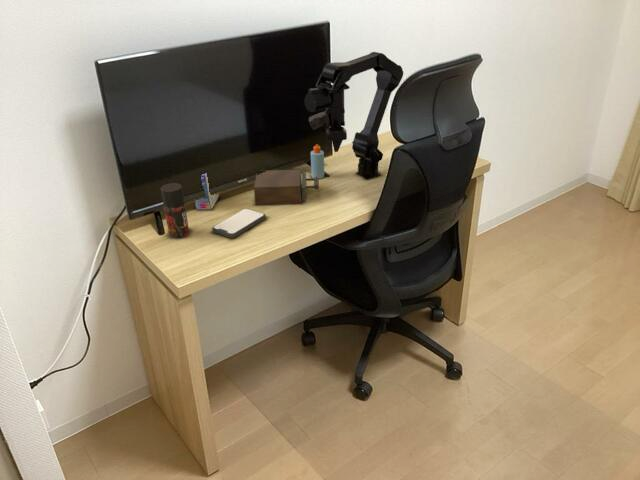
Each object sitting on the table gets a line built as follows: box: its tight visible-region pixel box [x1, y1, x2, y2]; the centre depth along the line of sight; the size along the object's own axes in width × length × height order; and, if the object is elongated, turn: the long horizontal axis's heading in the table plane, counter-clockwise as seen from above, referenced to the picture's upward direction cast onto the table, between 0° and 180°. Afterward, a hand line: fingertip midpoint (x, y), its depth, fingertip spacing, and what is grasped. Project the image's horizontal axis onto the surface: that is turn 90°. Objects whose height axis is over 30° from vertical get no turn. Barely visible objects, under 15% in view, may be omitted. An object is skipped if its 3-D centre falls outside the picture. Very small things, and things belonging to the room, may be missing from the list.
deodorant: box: [160, 182, 190, 239], centre depth 168 cm, size 6×6×15 cm
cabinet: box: [253, 169, 302, 206], centre depth 191 cm, size 15×13×6 cm
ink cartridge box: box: [194, 173, 220, 211], centre depth 185 cm, size 10×6×14 cm, turn 174°
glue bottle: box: [310, 143, 325, 180], centre depth 202 cm, size 5×5×12 cm
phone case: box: [211, 208, 266, 239], centre depth 175 cm, size 9×2×16 cm
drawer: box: [301, 171, 320, 201], centre depth 191 cm, size 18×12×5 cm
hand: (336, 151), depth 190 cm, fingers closed
